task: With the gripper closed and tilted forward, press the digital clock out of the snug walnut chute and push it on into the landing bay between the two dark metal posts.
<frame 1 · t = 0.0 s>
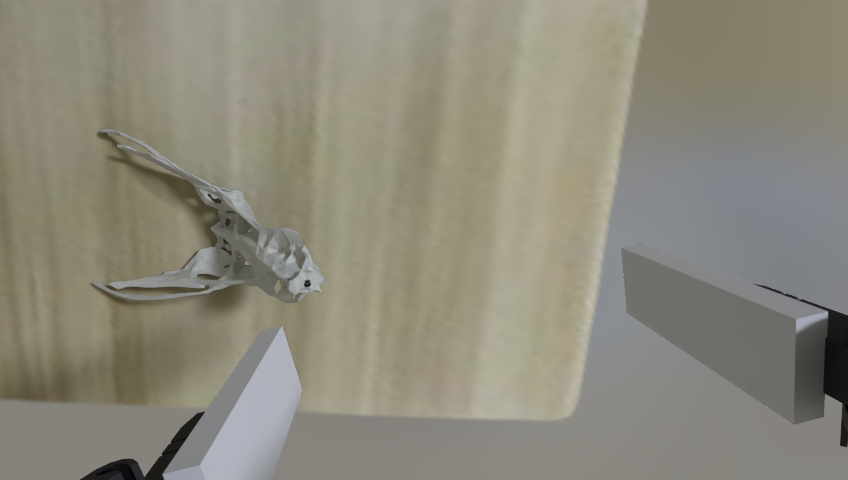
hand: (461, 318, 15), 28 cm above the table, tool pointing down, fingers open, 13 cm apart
skeletal model: (224, 230, 41), on the table
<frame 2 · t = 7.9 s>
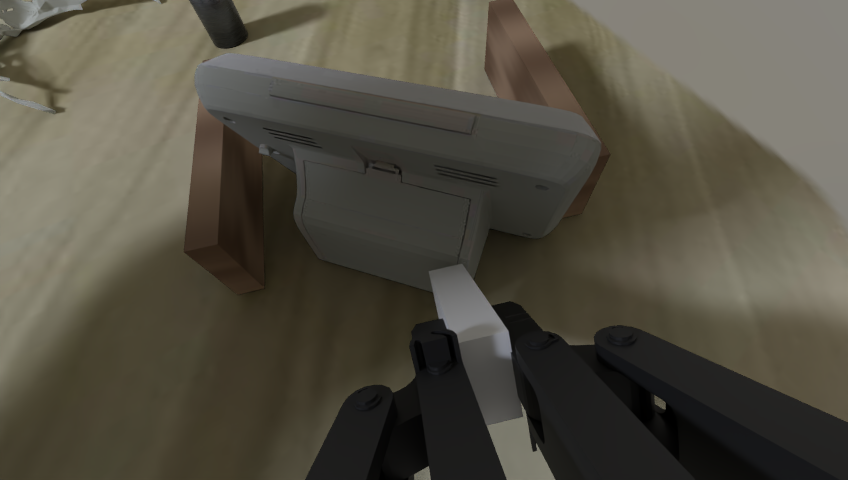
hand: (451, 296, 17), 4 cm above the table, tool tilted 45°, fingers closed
digital clock: (415, 222, 24), on the table, touching gripper
chute: (391, 162, 26), on the table
skeletal model: (10, 47, 37), on the table
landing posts: (354, 12, 35), on the table
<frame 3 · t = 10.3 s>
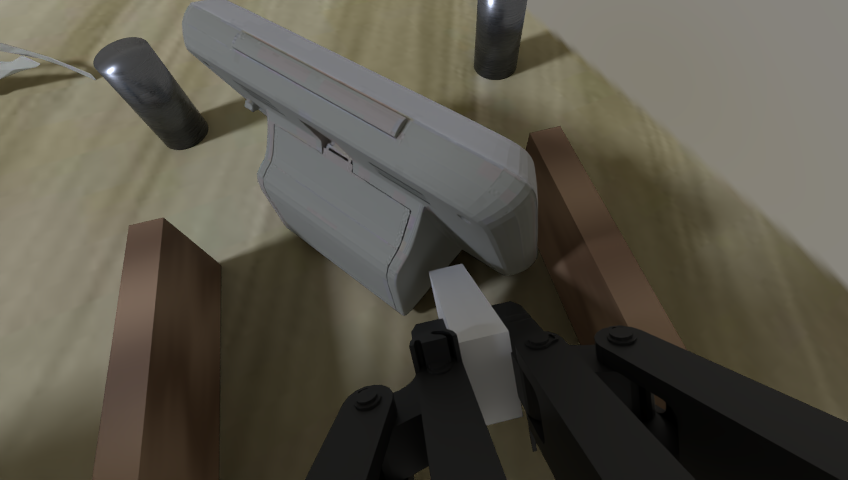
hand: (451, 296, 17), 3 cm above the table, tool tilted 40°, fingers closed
digital clock: (393, 219, 23), on the table, touching gripper
chute: (396, 350, 19), on the table
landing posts: (344, 98, 28), on the table
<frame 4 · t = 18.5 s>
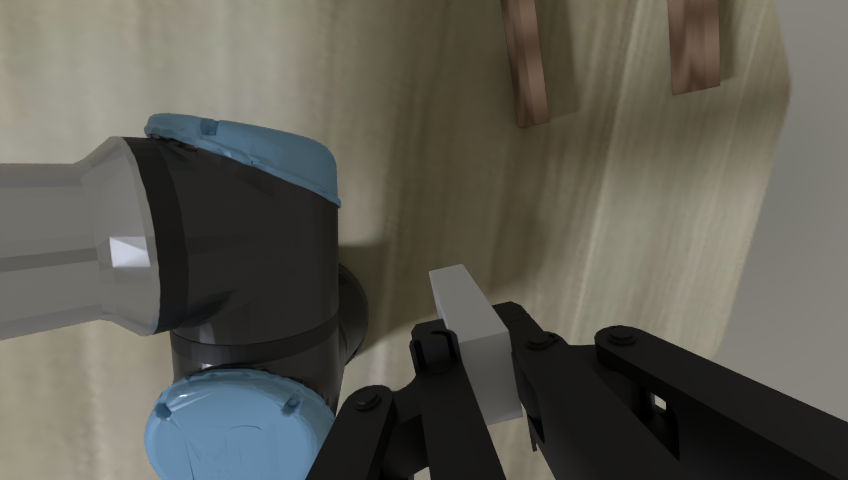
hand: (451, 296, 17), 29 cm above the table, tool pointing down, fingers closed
chute: (596, 45, 44), on the table
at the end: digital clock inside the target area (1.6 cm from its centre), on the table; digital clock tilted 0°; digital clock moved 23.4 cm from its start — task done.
